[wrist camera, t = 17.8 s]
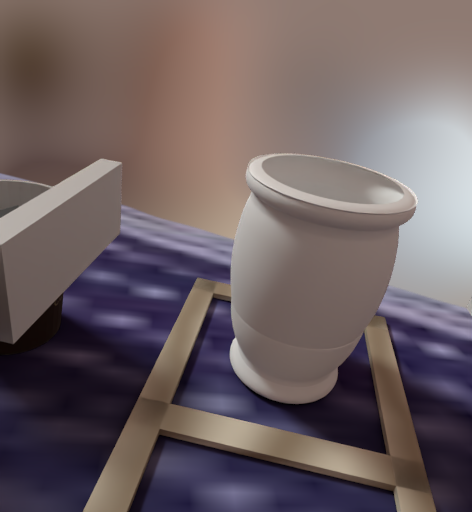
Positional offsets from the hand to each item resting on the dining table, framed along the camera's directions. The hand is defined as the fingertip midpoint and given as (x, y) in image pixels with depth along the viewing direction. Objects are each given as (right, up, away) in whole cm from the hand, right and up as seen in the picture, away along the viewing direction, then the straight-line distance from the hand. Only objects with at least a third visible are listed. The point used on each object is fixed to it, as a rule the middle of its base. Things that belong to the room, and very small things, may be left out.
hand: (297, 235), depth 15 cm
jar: (+1, -9, +18) cm, 20 cm away
